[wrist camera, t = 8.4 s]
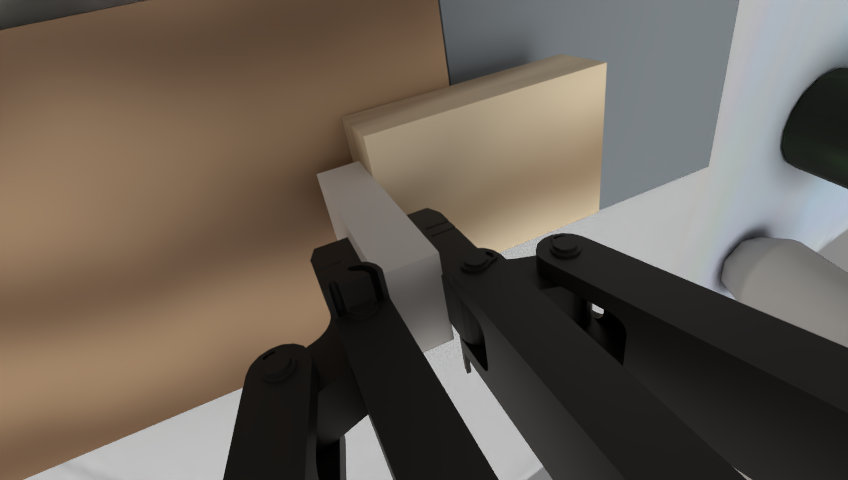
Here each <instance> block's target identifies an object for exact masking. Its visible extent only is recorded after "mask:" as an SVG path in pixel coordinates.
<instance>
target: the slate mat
mask: <svg viewBox="0 0 848 480" xmlns="http://www.w3.org/2000/svg"><path fill="white" fill-rule="evenodd" d="M438 5H439V13H440V20H441V28H442V35H443V42H444V50H445V57H446V64H447V72H448V79H449V86H451V85H455V84H458V83H462V82H465V81H469V80H472V79H475V78H479V77H482V76H486V75H489V74H493V73H496V72H500V71H503V70H507V69H510V68H514V67H517V66H521V65H524V64H527V63H531V62H534V61H538V60H541V59H545V58H548V57H552V56H555V55H559V54H564V55H569V56H574V57H580V58H585V59H591V60H596V61H602V62H607V71H606V89H605V108H604V127H603V145H602V164H601V182H600V201H599V210H601V209H604V208H606V207H609V206H611V205H614V204H616V203H619V202H621V201H624V200H626V199H629V198H631V197H634V196H636V195H639V194H641V193H644V192H646V191H649V190H651V189H654V188H656V187H659V186H661V185H664V184H666V183H668V182H671V181H673V180H676V179H678V178H681V177H683V176H686V175H688V174H691V173H693V172H696V171H698V170H701V169H703V168H706V167H708V166H709V161H710V156H711V150H712V145H713V140H714V134H715V129H716V124H717V118H718V113H719V107H720V102H721V97H722V91H723V86H724V80H725V75H726V70H727V64H728V59H729V53H730V48H731V43H732V37H733V32H734V27H735V21H736V16H737V10H738V5H739V0H438Z"/></svg>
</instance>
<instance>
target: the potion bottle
mask: <svg viewBox="0 0 848 480" xmlns="http://www.w3.org/2000/svg"><path fill="white" fill-rule="evenodd" d="M783 150H784V154H785V157H786V160H787V162H788V163H790V164H791V165H793V166H794V167H796V168H798V169H800V170H803V171H805V172H808V173H810V174H813V175H815V176H818V177H820V178H822V179H825V180H827V181H830V182H832V183H835V184H837V185H840V186H842V187H844V188H847V189H848V68H839V69H837V70H835V71H833V72H831V73H830V74H828V75H826V76H824V77H822V78H821V79H819V80H818V81H817V82H816V83H815V84H814V85H813V86H812V87H811V88H810V89H809V90H808V91H807V92H806V93H805V94H804V95H803V97H802V98H801V100H800V101H799V103H798V104H797V106H796V107H795V109H794V110H793V112H792V115H791V117H790V119H789V122H788V124H787V127H786V129H785V133H784V140H783Z"/></svg>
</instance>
